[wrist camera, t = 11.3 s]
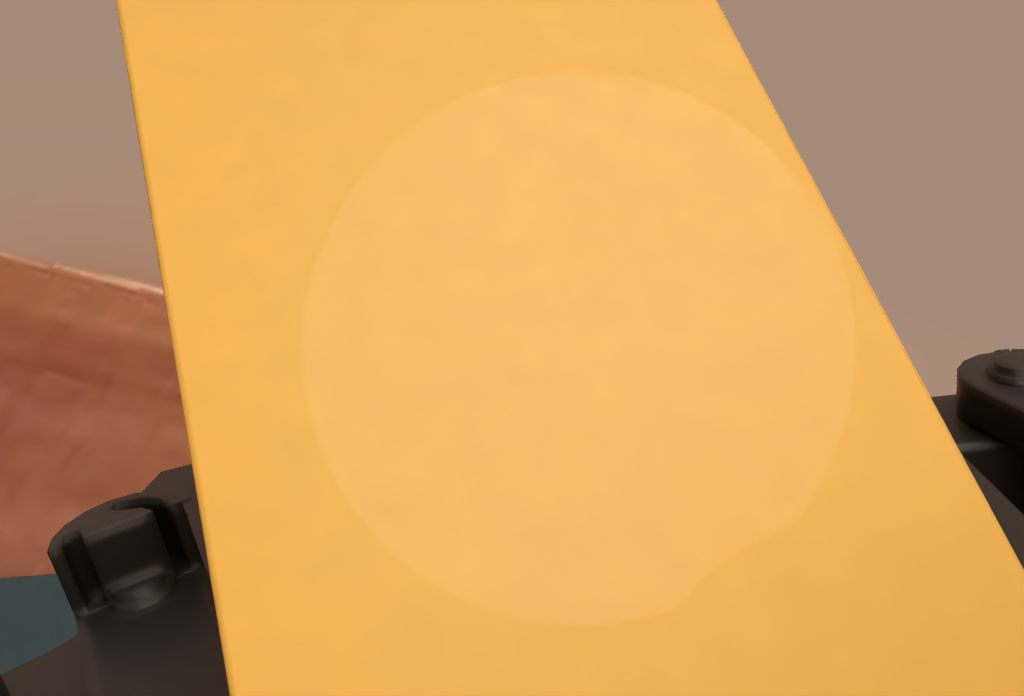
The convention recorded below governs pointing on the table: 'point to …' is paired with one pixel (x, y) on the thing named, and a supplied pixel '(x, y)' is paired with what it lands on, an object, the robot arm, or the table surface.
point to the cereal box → (541, 366)
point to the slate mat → (32, 618)
